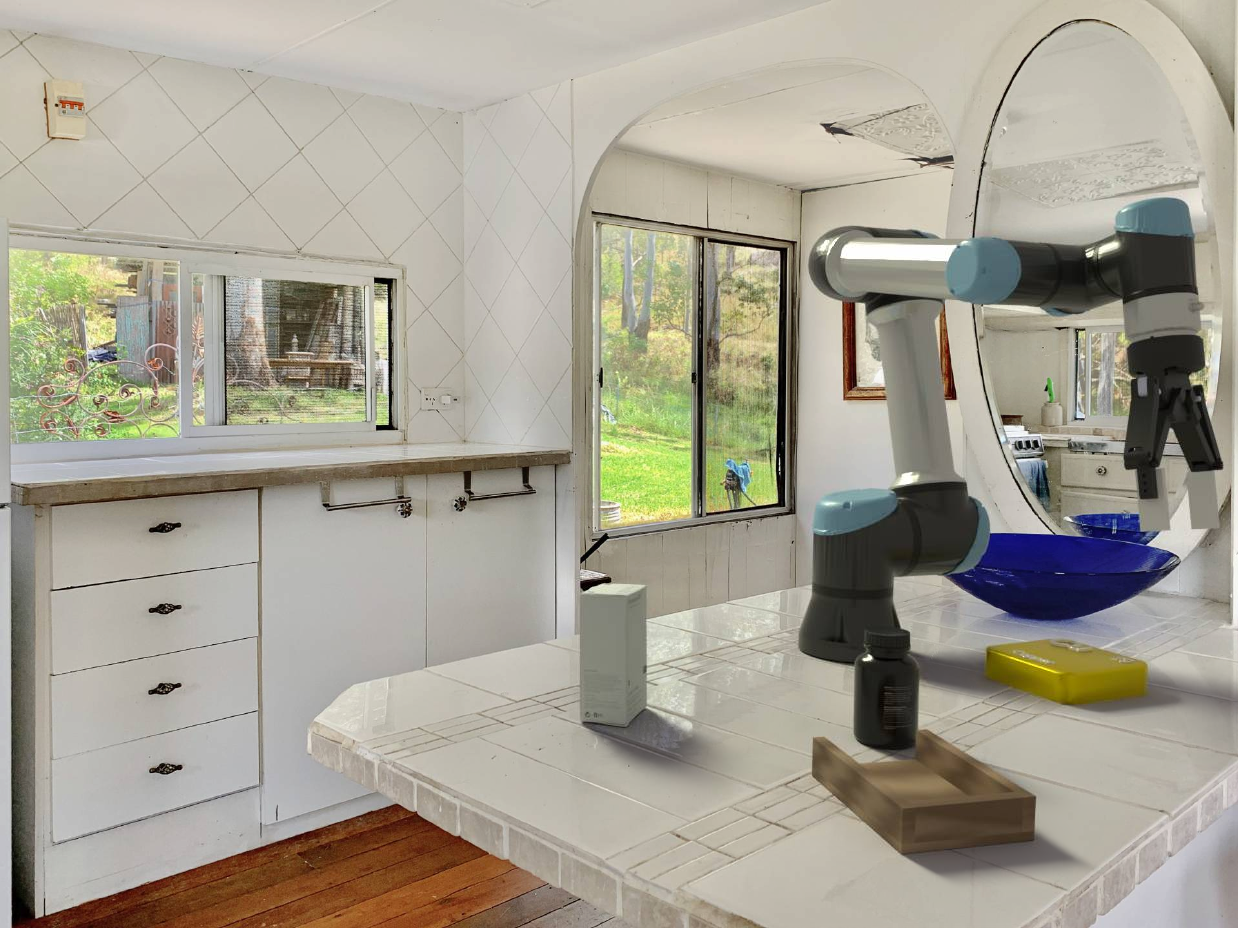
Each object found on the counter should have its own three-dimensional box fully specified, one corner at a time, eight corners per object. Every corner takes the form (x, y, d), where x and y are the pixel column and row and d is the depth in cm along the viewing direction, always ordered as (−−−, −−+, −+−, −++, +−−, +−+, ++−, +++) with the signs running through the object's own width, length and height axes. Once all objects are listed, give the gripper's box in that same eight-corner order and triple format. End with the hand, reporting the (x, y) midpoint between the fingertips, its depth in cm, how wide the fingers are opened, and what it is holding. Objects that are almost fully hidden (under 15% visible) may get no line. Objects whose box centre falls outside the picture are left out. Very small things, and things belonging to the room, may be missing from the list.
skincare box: (627, 728, 111) (629, 596, 110) (576, 722, 113) (577, 592, 112) (648, 706, 119) (650, 582, 118) (599, 700, 121) (601, 579, 120)
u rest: (811, 775, 98) (812, 737, 98) (925, 765, 101) (926, 729, 101) (901, 853, 82) (902, 808, 81) (1034, 839, 85) (1036, 796, 84)
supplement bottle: (921, 735, 111) (925, 627, 110) (912, 754, 104) (916, 641, 104) (859, 725, 113) (862, 621, 113) (846, 744, 107) (849, 633, 106)
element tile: (977, 677, 136) (978, 642, 135) (1060, 666, 141) (1061, 633, 141) (1066, 710, 122) (1068, 671, 121) (1154, 696, 128) (1155, 659, 127)
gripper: (1151, 319, 101) (1171, 530, 99) (1242, 344, 117) (1260, 526, 115) (1077, 333, 106) (1094, 533, 105) (1173, 355, 123) (1189, 529, 121)
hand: (1181, 530), depth 110 cm, fingers open, 13 cm apart
